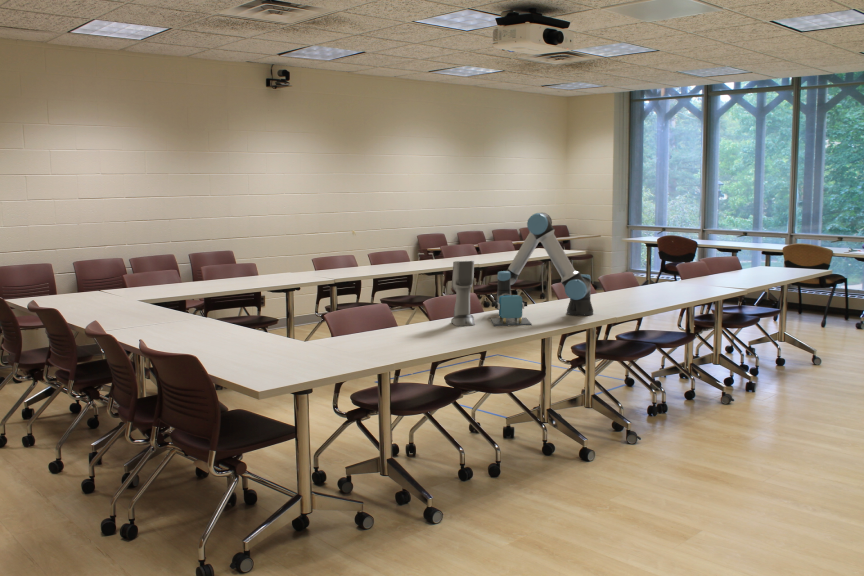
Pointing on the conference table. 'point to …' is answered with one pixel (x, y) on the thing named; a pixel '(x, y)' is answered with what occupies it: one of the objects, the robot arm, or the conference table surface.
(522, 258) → the robot arm
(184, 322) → the conference table surface
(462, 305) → the grey pedestal post
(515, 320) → the chassis
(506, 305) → the teal square slab
